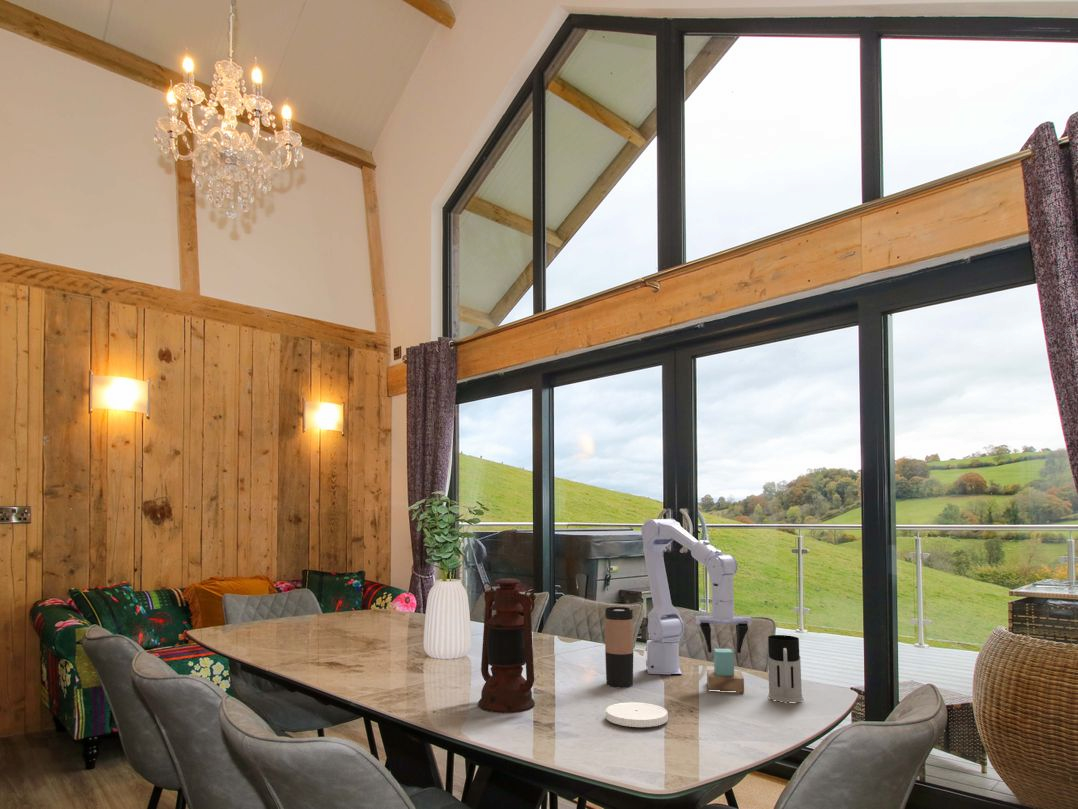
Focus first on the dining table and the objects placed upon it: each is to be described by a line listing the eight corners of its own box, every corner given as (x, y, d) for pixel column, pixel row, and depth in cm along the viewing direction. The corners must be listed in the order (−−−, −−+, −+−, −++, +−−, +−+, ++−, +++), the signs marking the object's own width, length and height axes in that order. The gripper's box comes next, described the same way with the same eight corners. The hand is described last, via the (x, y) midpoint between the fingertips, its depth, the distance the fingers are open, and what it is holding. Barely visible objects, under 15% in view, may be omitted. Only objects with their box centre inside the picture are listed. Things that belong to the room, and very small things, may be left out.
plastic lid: (627, 710, 178) (627, 699, 178) (679, 721, 169) (678, 709, 170) (593, 723, 167) (593, 711, 168) (647, 736, 159) (647, 723, 159)
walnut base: (708, 693, 194) (708, 677, 195) (707, 684, 203) (706, 669, 203) (744, 694, 193) (743, 678, 193) (741, 686, 201) (740, 670, 202)
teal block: (717, 675, 196) (716, 652, 197) (714, 671, 201) (713, 648, 202) (734, 675, 196) (733, 652, 197) (731, 671, 201) (730, 648, 201)
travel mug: (601, 685, 200) (600, 609, 202) (611, 679, 206) (611, 606, 209) (627, 689, 196) (627, 611, 199) (637, 683, 203) (636, 608, 205)
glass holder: (802, 695, 191) (800, 635, 192) (806, 710, 177) (804, 645, 179) (767, 693, 193) (765, 633, 195) (768, 707, 179) (766, 643, 181)
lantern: (461, 704, 181) (463, 579, 185) (500, 693, 192) (501, 574, 195) (514, 718, 170) (515, 584, 174) (552, 705, 180) (552, 579, 184)
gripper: (697, 601, 197) (698, 654, 196) (753, 602, 196) (754, 655, 195) (694, 598, 204) (695, 649, 203) (747, 599, 203) (749, 650, 202)
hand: (724, 652), depth 199 cm, fingers open, 7 cm apart
